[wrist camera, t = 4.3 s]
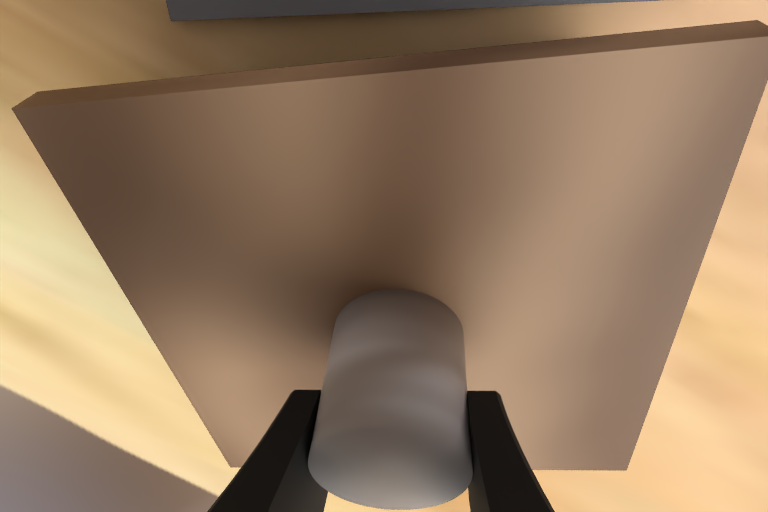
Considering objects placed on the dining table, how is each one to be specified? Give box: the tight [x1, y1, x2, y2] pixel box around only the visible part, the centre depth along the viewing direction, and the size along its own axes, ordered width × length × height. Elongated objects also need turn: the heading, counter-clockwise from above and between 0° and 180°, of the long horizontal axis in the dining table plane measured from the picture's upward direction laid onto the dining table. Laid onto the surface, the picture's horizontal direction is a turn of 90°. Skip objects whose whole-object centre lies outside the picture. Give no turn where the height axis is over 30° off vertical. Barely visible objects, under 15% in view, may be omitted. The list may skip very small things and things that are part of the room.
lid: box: [12, 20, 768, 510], centre depth 11 cm, size 13×13×4 cm
